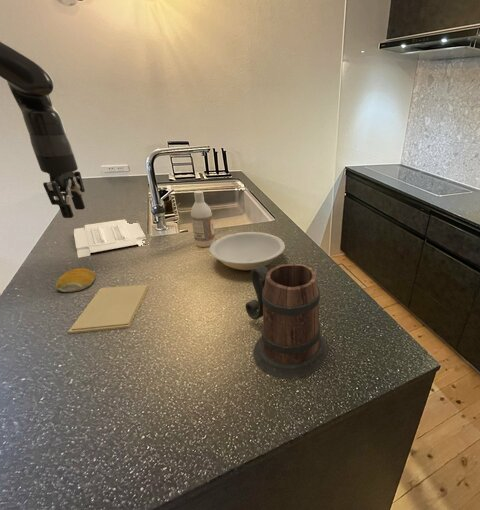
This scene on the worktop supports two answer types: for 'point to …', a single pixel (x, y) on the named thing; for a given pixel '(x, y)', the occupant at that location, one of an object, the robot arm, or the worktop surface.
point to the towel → (111, 309)
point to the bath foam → (202, 221)
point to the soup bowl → (247, 249)
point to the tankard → (287, 320)
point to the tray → (107, 236)
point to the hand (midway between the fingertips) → (74, 213)
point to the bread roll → (75, 280)
